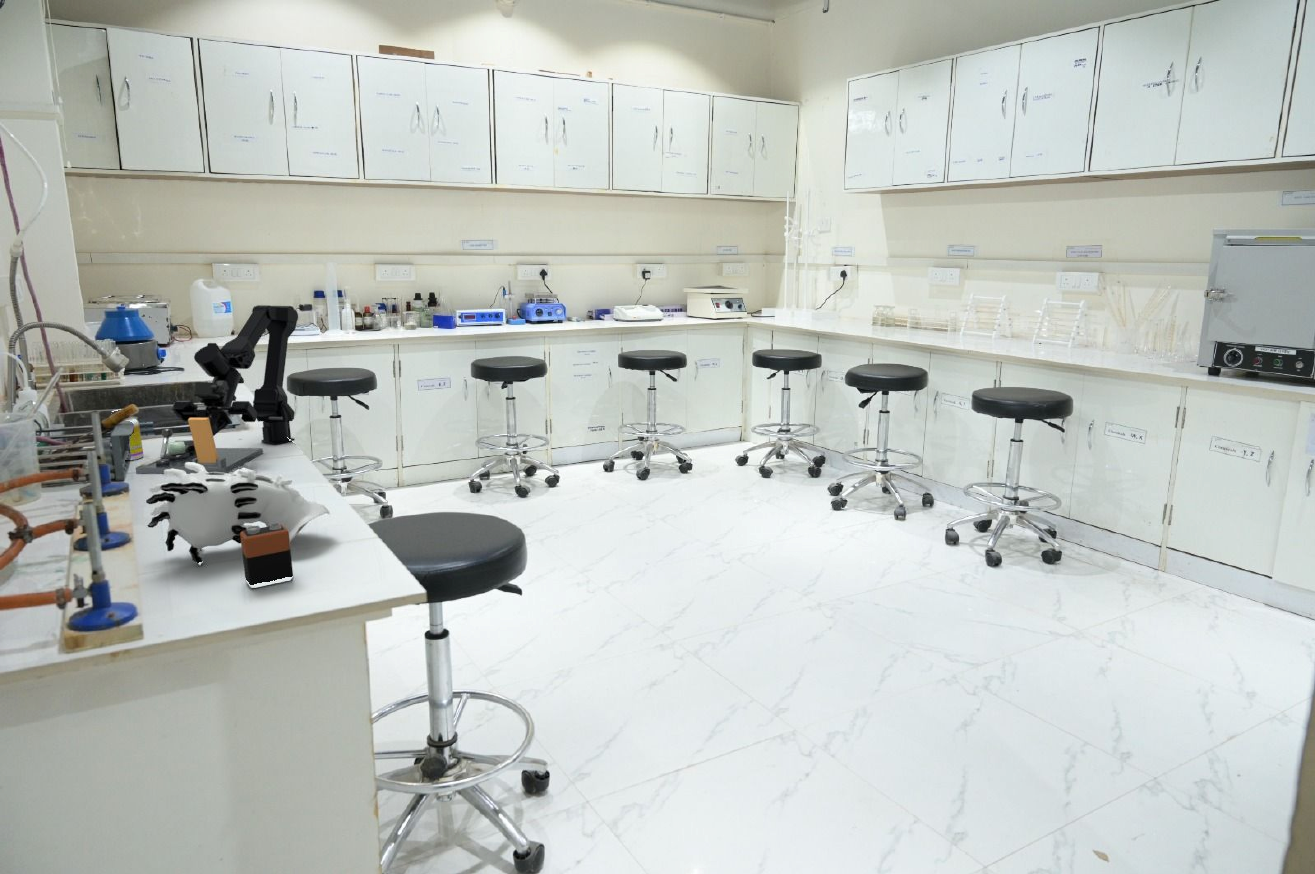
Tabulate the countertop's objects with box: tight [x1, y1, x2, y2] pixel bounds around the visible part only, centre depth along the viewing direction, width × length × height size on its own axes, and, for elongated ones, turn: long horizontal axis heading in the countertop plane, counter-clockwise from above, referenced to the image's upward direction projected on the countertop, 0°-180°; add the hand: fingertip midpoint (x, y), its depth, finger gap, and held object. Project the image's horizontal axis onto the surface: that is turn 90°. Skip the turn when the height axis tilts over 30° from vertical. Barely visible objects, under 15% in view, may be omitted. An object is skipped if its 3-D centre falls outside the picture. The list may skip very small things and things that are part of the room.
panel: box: [135, 445, 264, 475], centre depth 215 cm, size 21×22×4 cm
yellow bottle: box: [111, 408, 144, 461], centre depth 218 cm, size 7×7×13 cm
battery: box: [240, 523, 294, 585], centre depth 140 cm, size 4×7×10 cm, turn 126°
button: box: [167, 440, 185, 454], centre depth 214 cm, size 4×4×2 cm
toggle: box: [159, 427, 174, 459], centre depth 209 cm, size 2×2×8 cm
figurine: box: [145, 462, 330, 564], centre depth 153 cm, size 17×16×30 cm
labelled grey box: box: [174, 439, 194, 446], centre depth 220 cm, size 7×4×1 cm, turn 0°
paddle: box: [187, 418, 218, 467], centre depth 203 cm, size 2×5×13 cm, turn 90°
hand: (205, 440), depth 204 cm, fingers closed, pressing on paddle
